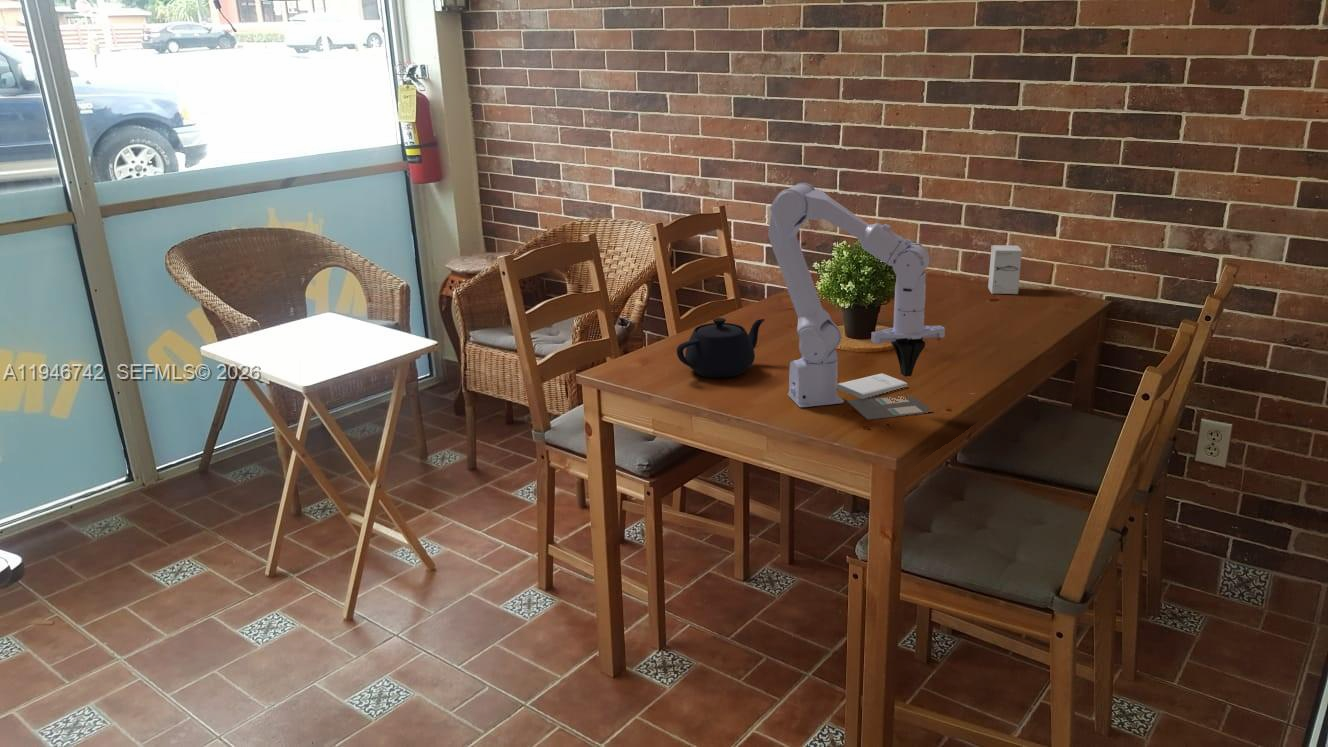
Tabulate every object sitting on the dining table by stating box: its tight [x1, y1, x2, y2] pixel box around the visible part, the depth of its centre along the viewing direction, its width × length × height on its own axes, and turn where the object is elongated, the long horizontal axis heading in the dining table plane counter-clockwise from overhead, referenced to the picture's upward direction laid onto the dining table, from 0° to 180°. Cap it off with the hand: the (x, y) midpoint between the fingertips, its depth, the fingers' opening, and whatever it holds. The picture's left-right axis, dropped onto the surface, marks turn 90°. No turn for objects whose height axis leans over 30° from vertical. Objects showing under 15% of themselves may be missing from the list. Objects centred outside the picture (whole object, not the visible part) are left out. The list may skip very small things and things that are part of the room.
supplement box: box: [987, 244, 1023, 295], centre depth 288 cm, size 7×7×13 cm
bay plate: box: [846, 393, 933, 421], centre depth 206 cm, size 14×11×1 cm
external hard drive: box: [837, 373, 908, 399], centre depth 217 cm, size 2×8×12 cm
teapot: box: [676, 317, 766, 379], centre depth 229 cm, size 25×16×12 cm, turn 126°
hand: (906, 374), depth 202 cm, fingers closed
